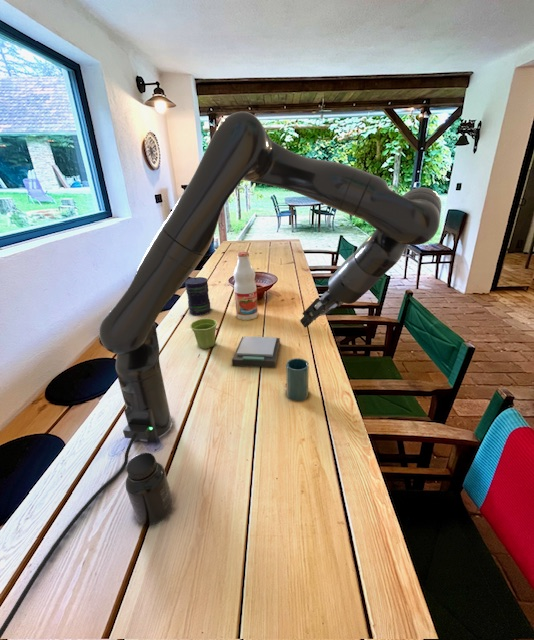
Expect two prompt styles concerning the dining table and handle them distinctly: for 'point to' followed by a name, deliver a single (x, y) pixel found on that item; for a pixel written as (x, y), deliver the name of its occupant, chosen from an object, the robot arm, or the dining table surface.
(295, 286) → the dining table surface
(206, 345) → the plant pot
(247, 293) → the fruit juice
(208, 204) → the robot arm
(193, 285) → the storage jar
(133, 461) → the supplement bottle
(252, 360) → the scale
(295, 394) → the tumbler
